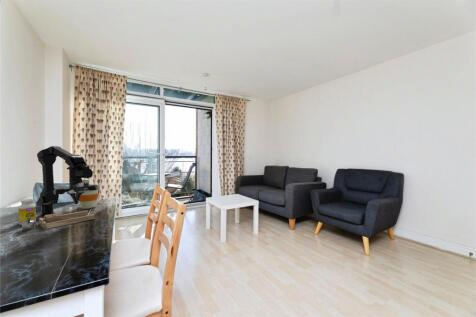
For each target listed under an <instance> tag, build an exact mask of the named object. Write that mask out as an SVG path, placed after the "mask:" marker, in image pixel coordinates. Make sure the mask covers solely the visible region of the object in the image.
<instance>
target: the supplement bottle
mask: <svg viewBox="0 0 476 317" xmlns="http://www.w3.org/2000/svg"><path fill="white" fill-rule="evenodd" d="M33 202H34V199H33V198H26V199H22V200H20V205H19V206H18V225H19V226H20V225H21V226H22V222H23V221H26V219H28V217H30V220H34V223H36V222H37V219H36V218H37V212H36V210H37V209H36V207H37V205H36V203H33Z"/></svg>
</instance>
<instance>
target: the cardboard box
mask: <svg viewBox="0 0 476 317" xmlns="http://www.w3.org/2000/svg"><path fill="white" fill-rule="evenodd" d="M62 215H63V214H61V213H60V212H55V214H50V215H44V216H43V218H45V222H46V223H51V222H56V221H62Z"/></svg>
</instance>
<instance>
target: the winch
mask: <svg viewBox="0 0 476 317" xmlns="http://www.w3.org/2000/svg"><path fill="white" fill-rule="evenodd" d="M33 229H35V222H34V220H30V217H28V219H26V221H23V222H22V225H21V231H22V232H23V231H31V230H33Z"/></svg>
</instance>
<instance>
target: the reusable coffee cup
mask: <svg viewBox="0 0 476 317" xmlns="http://www.w3.org/2000/svg"><path fill="white" fill-rule="evenodd" d="M94 185H95V186H96V190H93V191H90V190H84V192H85V193H82V195H81V196H80V198H79V201H78V202H79V205H80V209H82V210H83V209H92V207H93V208H95V206H96V207H97V201H98V199H99V189H100V188H99V186H100V185H99V184H94Z"/></svg>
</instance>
